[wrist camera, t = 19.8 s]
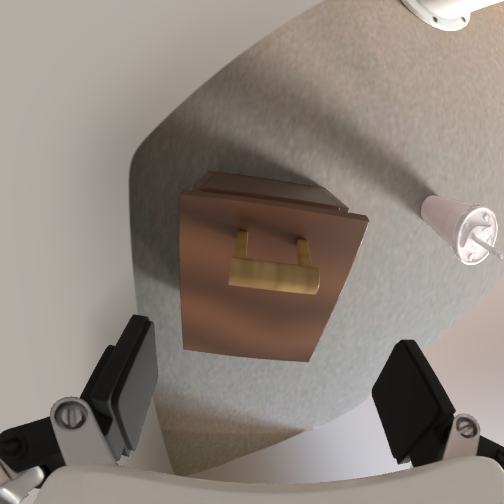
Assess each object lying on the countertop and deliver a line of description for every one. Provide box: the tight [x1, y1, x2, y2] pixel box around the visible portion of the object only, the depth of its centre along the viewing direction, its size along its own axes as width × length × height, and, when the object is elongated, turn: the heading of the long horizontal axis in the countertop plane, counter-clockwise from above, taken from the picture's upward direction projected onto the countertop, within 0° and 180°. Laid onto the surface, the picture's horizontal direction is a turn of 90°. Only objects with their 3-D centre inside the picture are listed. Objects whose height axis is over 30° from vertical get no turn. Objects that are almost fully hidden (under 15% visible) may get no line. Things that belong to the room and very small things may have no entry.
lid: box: [179, 190, 369, 362], centre depth 22 cm, size 16×13×5 cm
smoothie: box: [421, 195, 503, 265], centre depth 26 cm, size 6×6×14 cm
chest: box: [192, 171, 349, 212], centre depth 30 cm, size 16×13×9 cm
